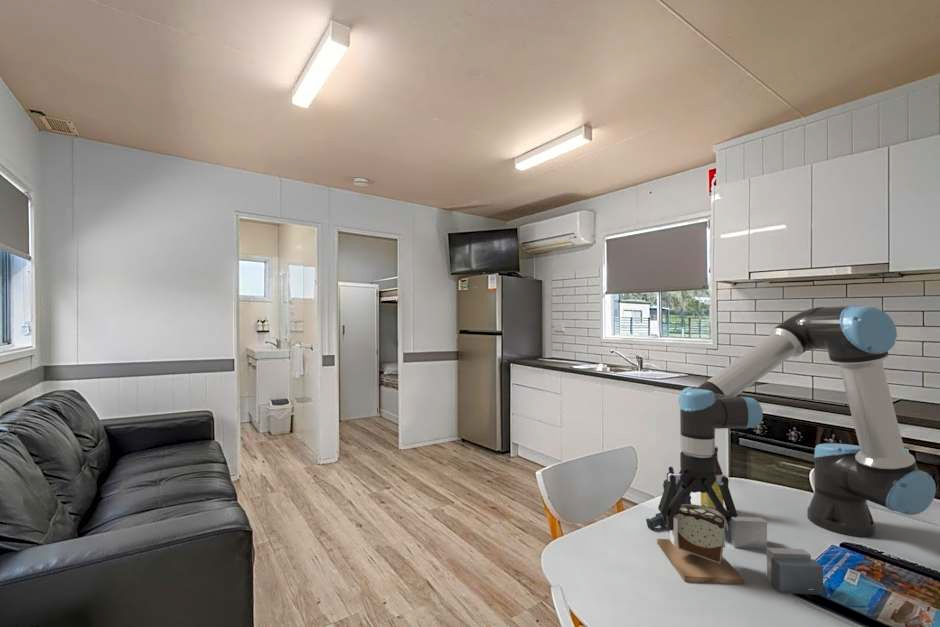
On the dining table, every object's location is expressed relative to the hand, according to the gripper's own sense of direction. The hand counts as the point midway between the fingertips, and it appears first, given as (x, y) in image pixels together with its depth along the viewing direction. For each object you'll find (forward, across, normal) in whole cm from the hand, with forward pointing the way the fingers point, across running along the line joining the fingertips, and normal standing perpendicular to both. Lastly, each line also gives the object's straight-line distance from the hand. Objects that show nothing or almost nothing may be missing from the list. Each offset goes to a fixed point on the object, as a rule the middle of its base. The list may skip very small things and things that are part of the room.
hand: (697, 543), depth 107 cm
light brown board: (+4, 0, 0) cm, 4 cm away
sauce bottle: (+5, -18, -31) cm, 36 cm away
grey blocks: (+4, -17, -3) cm, 18 cm away
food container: (+2, -1, 0) cm, 2 cm away
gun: (+5, -1, -19) cm, 20 cm away
